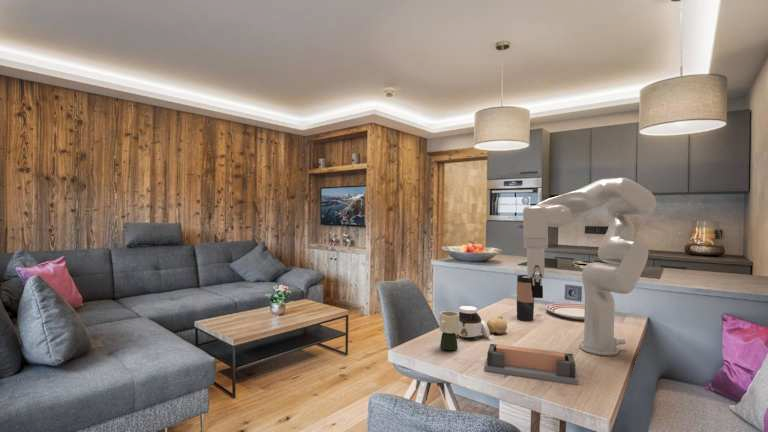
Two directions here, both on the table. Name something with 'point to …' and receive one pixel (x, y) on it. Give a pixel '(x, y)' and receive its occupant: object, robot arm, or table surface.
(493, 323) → the onion
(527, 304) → the travel mug
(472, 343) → the table surface
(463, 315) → the spread jar
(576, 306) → the dinner plate
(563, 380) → the board
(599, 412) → the table surface
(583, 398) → the table surface
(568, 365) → the end caps
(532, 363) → the slat
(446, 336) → the character mug
